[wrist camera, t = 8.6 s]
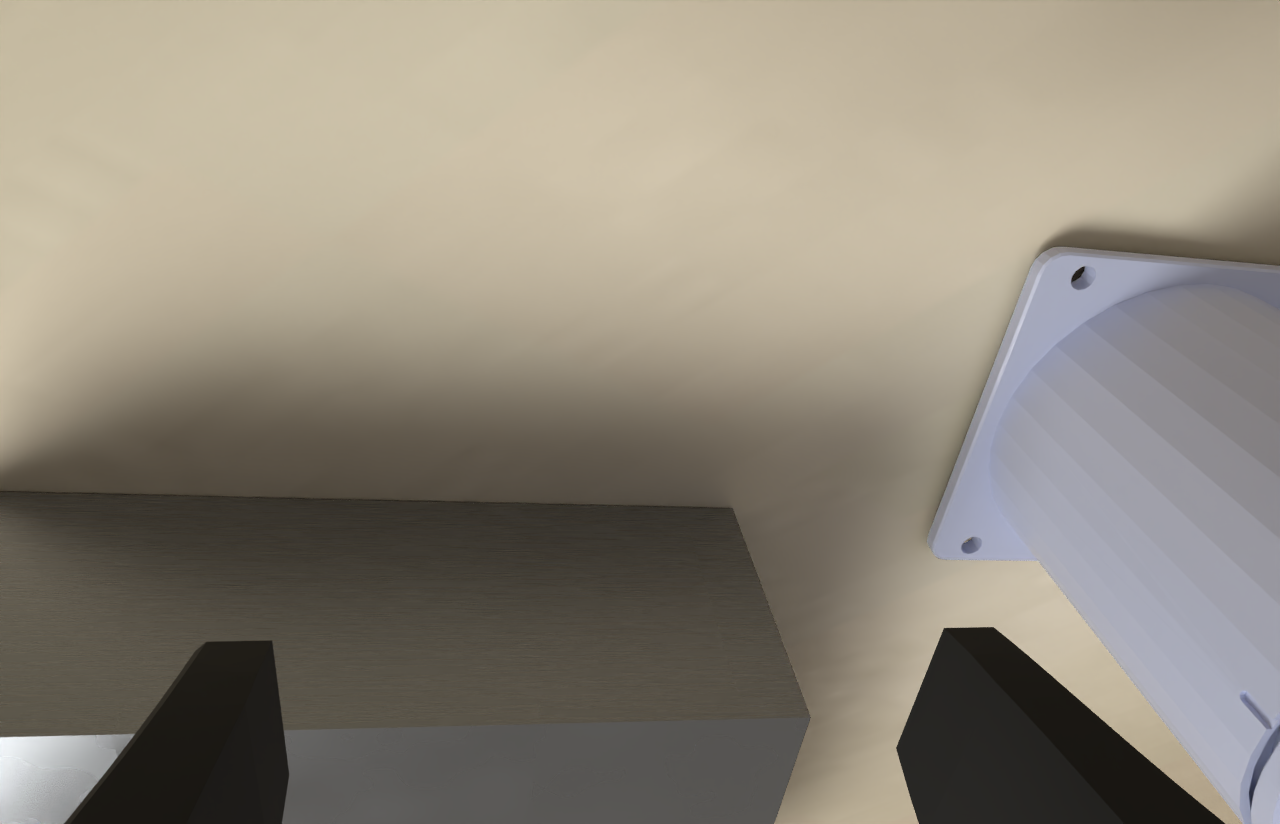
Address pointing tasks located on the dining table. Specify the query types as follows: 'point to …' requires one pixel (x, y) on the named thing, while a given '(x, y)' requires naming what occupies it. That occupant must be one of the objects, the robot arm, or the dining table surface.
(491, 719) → the grey box with hole
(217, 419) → the dining table surface
